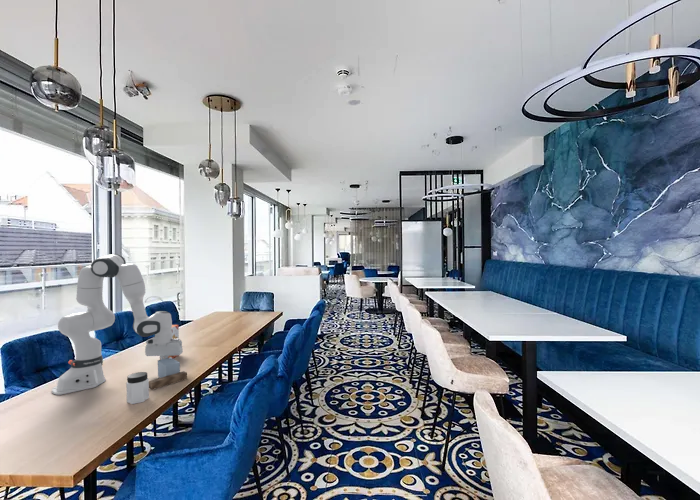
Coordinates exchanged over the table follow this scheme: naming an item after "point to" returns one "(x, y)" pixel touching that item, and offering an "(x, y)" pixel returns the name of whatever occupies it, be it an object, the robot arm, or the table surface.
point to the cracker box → (174, 335)
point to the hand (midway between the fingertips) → (164, 363)
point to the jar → (137, 387)
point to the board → (167, 380)
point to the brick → (168, 367)
